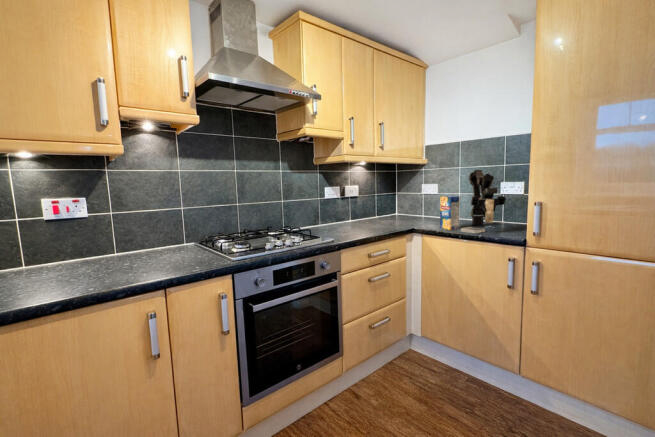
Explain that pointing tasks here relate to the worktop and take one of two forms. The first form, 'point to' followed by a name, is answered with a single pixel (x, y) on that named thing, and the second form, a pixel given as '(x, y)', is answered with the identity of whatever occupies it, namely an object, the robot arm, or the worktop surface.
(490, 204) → the maple peg
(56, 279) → the worktop surface
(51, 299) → the worktop surface
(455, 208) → the blue yellow food box
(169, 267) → the worktop surface
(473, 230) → the hole plate
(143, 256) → the worktop surface
